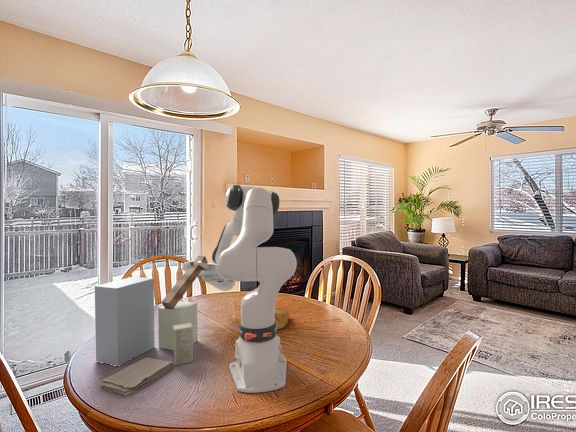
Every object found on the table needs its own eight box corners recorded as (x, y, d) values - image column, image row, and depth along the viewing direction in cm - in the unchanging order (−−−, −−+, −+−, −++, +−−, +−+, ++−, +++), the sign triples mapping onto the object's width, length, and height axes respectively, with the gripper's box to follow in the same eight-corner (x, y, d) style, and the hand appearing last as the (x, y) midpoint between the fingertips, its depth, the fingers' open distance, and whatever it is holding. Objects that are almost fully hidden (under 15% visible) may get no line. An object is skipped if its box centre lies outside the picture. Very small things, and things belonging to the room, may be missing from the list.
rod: (201, 261, 135) (198, 255, 133) (207, 262, 133) (205, 256, 132) (165, 308, 114) (161, 302, 113) (172, 309, 113) (168, 303, 111)
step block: (177, 337, 125) (176, 300, 125) (197, 340, 121) (197, 302, 121) (158, 347, 116) (158, 307, 115) (180, 351, 112) (179, 310, 112)
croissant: (272, 342, 127) (280, 327, 125) (253, 328, 130) (260, 313, 129) (291, 324, 147) (298, 310, 145) (274, 312, 150) (281, 298, 148)
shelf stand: (134, 343, 120) (133, 276, 119) (154, 346, 116) (153, 278, 116) (96, 362, 105) (94, 286, 104) (117, 367, 101) (116, 288, 101)
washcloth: (97, 390, 89) (97, 379, 89) (147, 362, 105) (147, 353, 105) (127, 399, 84) (127, 388, 84) (174, 368, 101) (174, 359, 101)
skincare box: (192, 356, 108) (192, 322, 108) (193, 362, 104) (193, 326, 104) (173, 359, 106) (173, 324, 106) (173, 365, 102) (173, 329, 102)
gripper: (194, 265, 144) (177, 254, 133) (232, 268, 137) (217, 256, 126) (190, 278, 141) (172, 268, 130) (229, 282, 134) (213, 271, 123)
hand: (194, 262), depth 128 cm, fingers closed on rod, 3 cm apart
